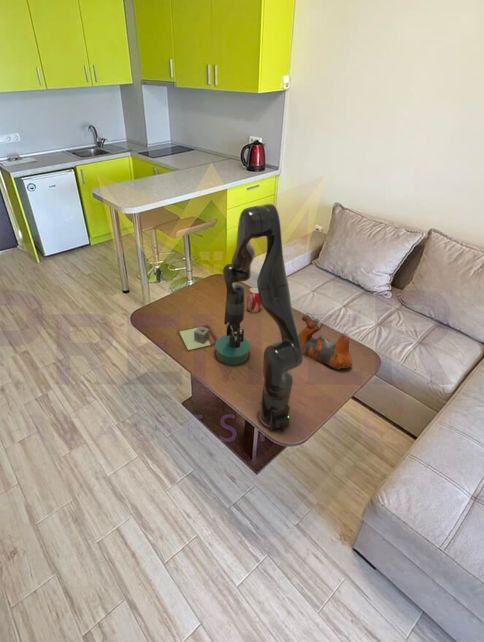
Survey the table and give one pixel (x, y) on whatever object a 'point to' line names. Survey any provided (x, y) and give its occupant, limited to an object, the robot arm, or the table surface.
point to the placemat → (192, 340)
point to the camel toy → (324, 345)
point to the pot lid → (231, 346)
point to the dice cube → (201, 334)
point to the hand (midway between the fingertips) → (233, 341)
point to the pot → (231, 359)
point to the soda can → (253, 300)
